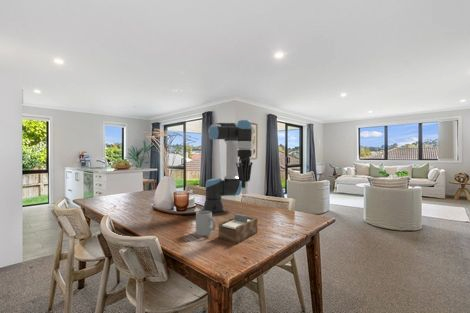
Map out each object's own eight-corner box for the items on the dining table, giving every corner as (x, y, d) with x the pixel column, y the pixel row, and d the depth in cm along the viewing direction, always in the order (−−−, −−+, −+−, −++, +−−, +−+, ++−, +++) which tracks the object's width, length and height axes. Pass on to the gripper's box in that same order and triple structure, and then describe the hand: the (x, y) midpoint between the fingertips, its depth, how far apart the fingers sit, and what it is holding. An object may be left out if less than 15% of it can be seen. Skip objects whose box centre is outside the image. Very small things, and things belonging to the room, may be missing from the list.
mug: (192, 233, 120) (192, 212, 120) (203, 229, 127) (203, 209, 127) (209, 238, 113) (209, 216, 113) (220, 233, 120) (220, 213, 120)
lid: (239, 218, 126) (239, 211, 126) (252, 221, 121) (253, 214, 121) (222, 226, 113) (222, 218, 113) (236, 229, 108) (236, 221, 108)
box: (238, 228, 129) (238, 215, 129) (257, 232, 122) (257, 218, 122) (218, 238, 114) (218, 223, 114) (238, 243, 107) (238, 227, 107)
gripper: (245, 149, 129) (245, 191, 129) (231, 149, 119) (231, 194, 119) (256, 149, 125) (256, 192, 125) (243, 149, 114) (243, 196, 114)
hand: (244, 193), depth 122 cm, fingers closed
